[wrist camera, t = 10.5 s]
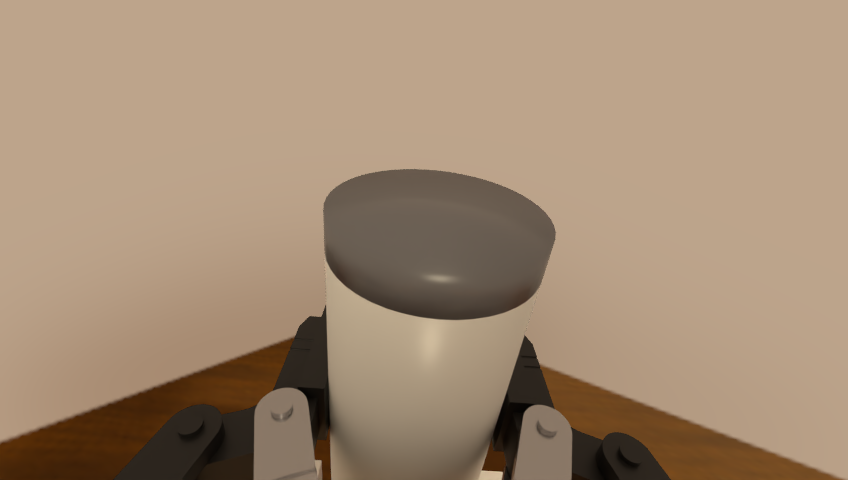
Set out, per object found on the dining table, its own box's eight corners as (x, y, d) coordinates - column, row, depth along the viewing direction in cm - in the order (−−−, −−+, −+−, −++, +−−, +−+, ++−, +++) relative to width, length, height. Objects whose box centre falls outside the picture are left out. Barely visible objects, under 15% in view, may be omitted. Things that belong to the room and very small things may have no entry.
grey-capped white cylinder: (319, 602, 13) (291, 259, 6) (345, 457, 17) (346, 161, 10) (463, 607, 13) (594, 286, 6) (453, 463, 18) (524, 179, 11)
